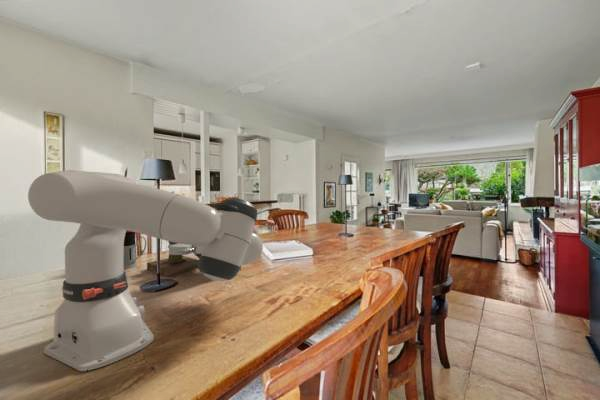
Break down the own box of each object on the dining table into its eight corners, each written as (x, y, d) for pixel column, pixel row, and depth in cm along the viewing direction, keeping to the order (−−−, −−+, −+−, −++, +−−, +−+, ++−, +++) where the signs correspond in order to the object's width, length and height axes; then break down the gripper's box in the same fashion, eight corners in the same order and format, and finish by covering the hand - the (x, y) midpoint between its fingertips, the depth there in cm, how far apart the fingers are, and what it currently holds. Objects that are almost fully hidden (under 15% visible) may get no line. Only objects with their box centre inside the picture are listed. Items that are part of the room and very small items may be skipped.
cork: (185, 261, 118) (184, 236, 118) (171, 264, 114) (170, 238, 113) (179, 258, 122) (178, 234, 122) (165, 261, 118) (165, 236, 117)
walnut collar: (201, 267, 120) (201, 260, 120) (166, 276, 107) (166, 269, 106) (181, 261, 129) (181, 255, 129) (147, 269, 116) (147, 262, 116)
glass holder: (124, 263, 125) (123, 231, 124) (152, 264, 124) (152, 232, 123) (109, 268, 116) (108, 234, 116) (139, 270, 115) (139, 235, 114)
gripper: (188, 259, 105) (156, 258, 108) (213, 248, 125) (186, 247, 128) (188, 243, 105) (156, 242, 107) (213, 235, 125) (186, 234, 127)
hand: (173, 245), depth 118 cm, fingers closed on cork, 4 cm apart
